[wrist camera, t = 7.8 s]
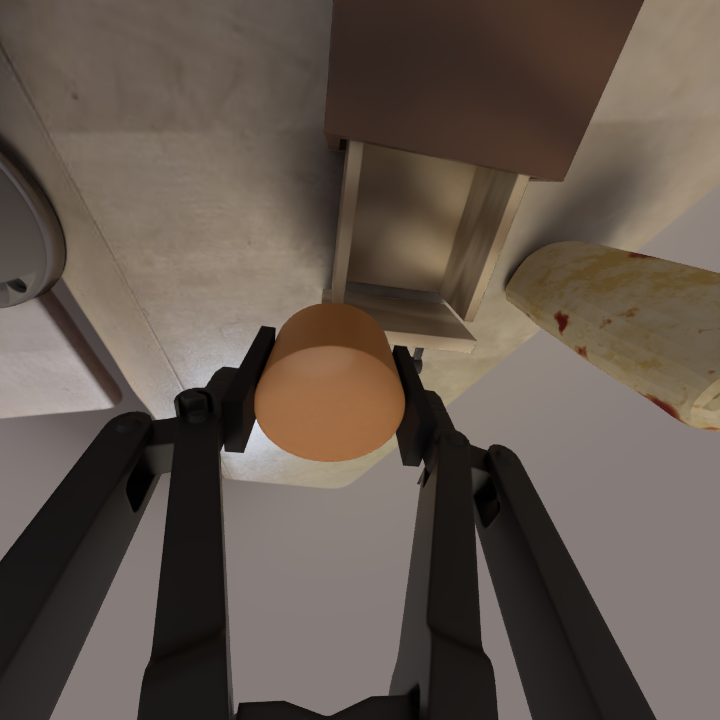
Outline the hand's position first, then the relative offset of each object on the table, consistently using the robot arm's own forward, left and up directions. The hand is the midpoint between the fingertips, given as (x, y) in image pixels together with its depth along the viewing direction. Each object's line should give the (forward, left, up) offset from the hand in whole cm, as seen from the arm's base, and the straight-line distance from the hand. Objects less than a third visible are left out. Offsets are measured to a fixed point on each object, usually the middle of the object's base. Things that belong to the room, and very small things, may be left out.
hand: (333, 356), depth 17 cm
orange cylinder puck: (0, 0, 0) cm, 0 cm away
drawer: (+5, +4, -13) cm, 14 cm away
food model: (+21, +4, -14) cm, 26 cm away
